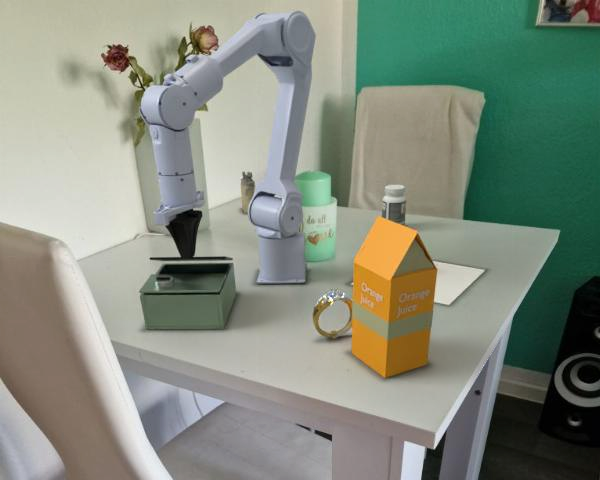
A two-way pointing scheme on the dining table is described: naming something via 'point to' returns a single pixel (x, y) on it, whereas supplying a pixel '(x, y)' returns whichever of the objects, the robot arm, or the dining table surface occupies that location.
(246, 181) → the brown furry upright figure
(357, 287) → the orange juice
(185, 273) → the washer
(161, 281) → the white disc with bar
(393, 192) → the pill bottle
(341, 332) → the gold ring
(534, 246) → the dining table surface
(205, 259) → the lid
